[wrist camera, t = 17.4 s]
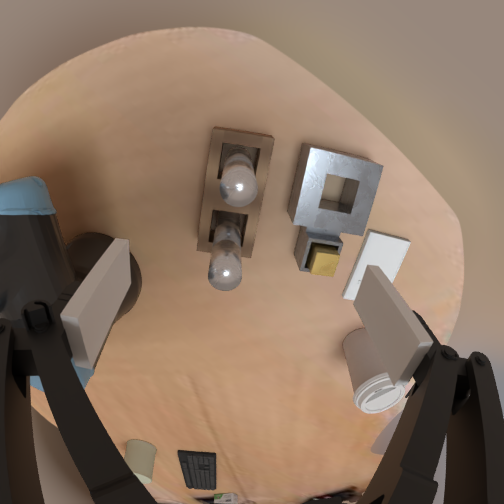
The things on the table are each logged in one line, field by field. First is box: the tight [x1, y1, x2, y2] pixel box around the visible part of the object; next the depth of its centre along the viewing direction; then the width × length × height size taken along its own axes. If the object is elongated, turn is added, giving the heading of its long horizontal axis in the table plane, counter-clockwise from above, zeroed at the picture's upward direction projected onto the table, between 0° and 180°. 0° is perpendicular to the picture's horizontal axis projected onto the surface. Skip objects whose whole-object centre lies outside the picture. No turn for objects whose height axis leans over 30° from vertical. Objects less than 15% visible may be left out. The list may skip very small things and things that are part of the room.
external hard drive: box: [342, 229, 411, 300], centre depth 48 cm, size 2×8×12 cm
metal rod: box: [220, 147, 258, 207], centre depth 33 cm, size 3×3×16 cm
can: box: [124, 439, 157, 484], centre depth 68 cm, size 9×9×12 cm
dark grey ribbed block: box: [178, 450, 216, 490], centre depth 82 cm, size 35×11×2 cm, turn 175°
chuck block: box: [287, 143, 383, 272], centre depth 41 cm, size 10×16×5 cm, turn 170°
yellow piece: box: [306, 242, 340, 277], centre depth 42 cm, size 3×3×6 cm
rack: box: [197, 127, 274, 258], centre depth 40 cm, size 16×7×4 cm, turn 170°
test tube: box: [208, 211, 242, 291], centre depth 36 cm, size 3×3×16 cm
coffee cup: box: [343, 328, 405, 413], centre depth 49 cm, size 10×10×15 cm
